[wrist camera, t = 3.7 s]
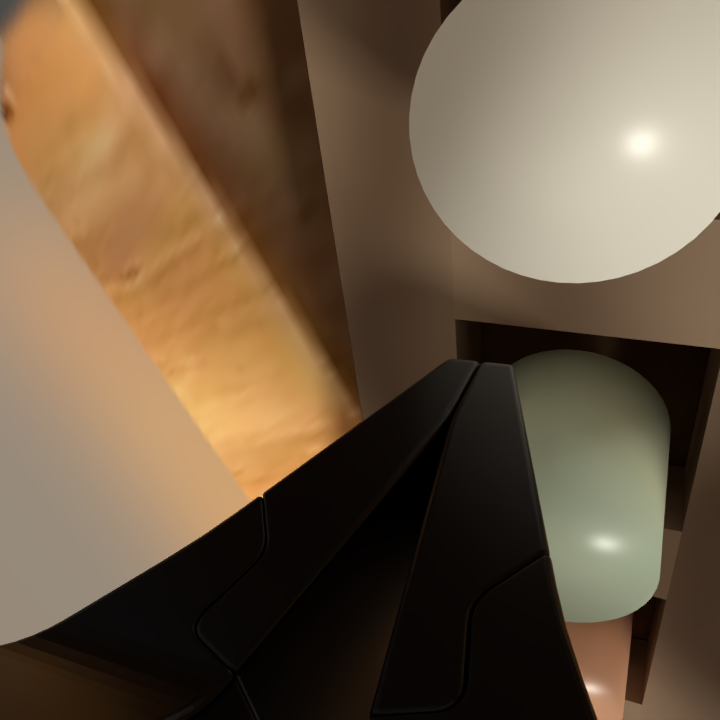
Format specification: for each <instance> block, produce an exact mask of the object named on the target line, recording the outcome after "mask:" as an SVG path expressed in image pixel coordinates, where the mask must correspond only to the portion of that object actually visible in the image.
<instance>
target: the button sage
mask: <svg viewBox="0 0 720 720" xmlns="http://www.w3.org/2000/svg"><path fill="white" fill-rule="evenodd" d="M511 366H512V367H513V368H514V371H515V376H516V381H517V387H518V392H519V397H520V402H521V407H522V412H523V417H524V423H525V428H526V433H527V438H528V443H529V448H530V453H531V459H532V464H533V469H534V474H535V479H536V484H537V489H538V495H539V500H540V505H541V510H542V515H543V520H544V525H545V531H546V536H547V541H548V546H549V551H550V558H551V560H552V565H553V570H554V575H555V580H556V586H557V590H558V594H559V598H560V603H561V607H562V611H563V615H564V619H565V622H576V623H593V622H602V621H608V620H613V619H617V618H620V617H623V616H626V615H628V614H630V613H632V612H634V611H636V610H638V609H639V608H641V607H642V606H643V605H645V604H646V603H647V602H648V601H649V600H650V598H651V597H652V596H653V594H654V593H655V591H656V589H657V586H658V583H659V579H660V568H661V555H662V541H663V528H664V514H665V501H666V487H667V474H668V460H669V447H670V433H671V424H670V417H669V413H668V410H667V407H666V405H665V403H664V401H663V399H662V397H661V396H660V394H659V393H658V392H657V390H656V389H655V388H654V387H653V386H652V385H651V383H650V382H649V381H648V380H646V379H645V378H644V377H643V376H642V375H641V374H639V373H638V372H636V371H635V370H633V369H632V368H630V367H629V366H627V365H625V364H623V363H621V362H619V361H617V360H614V359H612V358H609V357H607V356H604V355H600V354H597V353H593V352H587V351H581V350H569V349H563V350H550V351H543V352H539V353H535V354H532V355H529V356H527V357H524V358H522V359H520V360H518V361H516V362H514V363H513V364H511Z"/></svg>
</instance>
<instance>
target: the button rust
mask: <svg viewBox="0 0 720 720" xmlns="http://www.w3.org/2000/svg"><path fill="white" fill-rule="evenodd" d="M633 615H634V612H632V613H630V614H628V615H626V616H623V617H620V618H617V619H613V620H608V621H602V622H593V623H576V622H565V624H566V628H567V631H568V634H569V637H570V640H571V644H572V647H573V650H574V653H575V656H576V659H577V662H578V665H579V668H580V671H581V675H582V678H583V680H584V683H585V686H586V689H587V691H588V694H589V697H590V700H591V703H592V705H593V708H594V711H595V714H596V716H597V719H598V720H622V718H623V712H624V702H625V693H626V683H627V673H628V664H629V654H630V644H631V635H632V625H633Z"/></svg>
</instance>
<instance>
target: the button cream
mask: <svg viewBox="0 0 720 720" xmlns="http://www.w3.org/2000/svg"><path fill="white" fill-rule="evenodd" d="M409 137H410V144H411V151H412V157H413V161H414V165H415V168H416V172H417V175H418V178H419V180H420V183H421V185H422V188H423V190H424V193H425V194H426V196H427V198H428V200H429V202H430V203H431V205H432V207H433V209H434V210H435V211H436V213H437V214H438V216H439V217H440V218H441V220H442V221H443V223H444V224H445V225H446V226H447V227H448V228H449V229H450V230H451V231H452V233H453V234H454V235H455V236H456V237H457V238H458V239H459V240H461V241H462V242H463V243H464V244H465V245H466V246H468V247H469V248H470V249H471V250H473V251H474V252H476V253H477V254H479V255H480V256H482V257H483V258H485V259H486V260H488V261H490V262H492V263H494V264H496V265H498V266H499V267H501V268H503V269H506V270H509V271H511V272H514V273H517V274H519V275H522V276H526V277H530V278H534V279H538V280H544V281H550V282H557V283H588V282H599V281H604V280H610V279H615V278H619V277H623V276H626V275H629V274H632V273H635V272H639V271H641V270H643V269H645V268H648V267H650V266H652V265H655V264H657V263H659V262H661V261H662V260H664V259H666V258H667V257H669V256H671V255H673V254H674V253H676V252H677V251H679V250H680V249H681V248H683V247H684V246H685V245H687V244H688V243H689V242H691V241H692V240H693V239H695V238H696V237H697V236H698V235H699V234H700V233H701V232H702V231H703V230H704V229H705V228H706V227H707V226H708V225H709V224H710V223H711V222H712V221H713V220H714V218H715V217H716V216H717V215H718V213H719V212H720V0H462V1H461V2H460V3H459V4H458V6H457V7H456V8H455V9H454V10H453V11H452V12H451V13H450V14H449V15H448V16H447V18H446V19H445V21H444V22H443V24H442V25H441V26H440V28H439V29H438V31H437V32H436V34H435V35H434V37H433V39H432V41H431V43H430V44H429V46H428V48H427V50H426V52H425V54H424V56H423V59H422V61H421V64H420V67H419V69H418V72H417V75H416V78H415V83H414V87H413V91H412V95H411V104H410V113H409Z"/></svg>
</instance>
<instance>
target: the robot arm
mask: <svg viewBox="0 0 720 720" xmlns="http://www.w3.org/2000/svg"><path fill="white" fill-rule="evenodd" d="M0 720H598V719H597V716H596V714H595V711H594V708H593V705H592V703H591V700H590V697H589V694H588V691H587V689H586V686H585V683H584V680H583V678H582V675H581V671H580V668H579V665H578V662H577V659H576V656H575V653H574V650H573V647H572V644H571V640H570V637H569V634H568V631H567V628H566V624H565V619H564V615H563V611H562V607H561V603H560V598H559V594H558V590H557V586H556V580H555V575H554V570H553V565H552V560H551V558H550V551H549V546H548V541H547V536H546V531H545V525H544V520H543V515H542V510H541V505H540V500H539V495H538V489H537V484H536V479H535V474H534V469H533V464H532V459H531V453H530V448H529V443H528V438H527V433H526V428H525V423H524V417H523V412H522V407H521V402H520V397H519V392H518V387H517V381H516V376H515V371H514V368H513V367H512V366H511V365H508V364H499V363H489V362H485V363H482V364H481V365H480V364H479V363H478V362H477V361H470V360H461V359H449V360H447V361H445V362H443V363H442V364H441V365H439V366H438V367H437V368H435V369H434V370H432V371H431V372H430V373H428V374H427V375H426V376H424V377H423V378H421V379H420V380H419V381H417V382H416V383H415V384H413V385H412V386H410V387H409V388H408V389H406V390H405V391H403V392H402V393H401V394H399V395H398V396H397V397H395V398H394V399H392V400H391V401H390V402H388V403H387V404H386V405H384V406H383V407H381V408H380V409H379V410H377V411H376V412H375V413H373V414H372V415H370V416H369V417H368V418H366V419H365V420H364V421H362V422H361V423H359V424H358V425H357V426H355V427H354V428H352V429H351V430H350V431H348V432H347V433H346V434H344V435H343V436H341V437H340V438H339V439H337V440H336V441H335V442H333V443H332V444H330V445H329V446H328V447H326V448H325V449H324V450H322V451H321V452H319V453H318V454H317V455H315V456H314V457H312V458H311V459H310V460H308V461H307V462H306V463H304V464H303V465H301V466H300V467H299V468H297V469H296V470H295V471H293V472H292V473H290V474H289V475H288V476H286V477H285V478H284V479H282V480H281V481H279V482H278V483H277V484H275V485H274V486H272V487H271V488H270V489H268V490H267V491H266V492H264V494H263V498H262V497H257V498H256V499H254V500H253V501H251V502H250V503H249V504H247V505H246V506H245V507H243V508H242V509H240V510H239V511H238V512H236V513H235V514H233V515H232V516H230V517H229V518H228V519H226V520H225V521H223V522H222V523H220V524H219V525H217V526H216V527H215V528H213V529H212V530H210V531H209V532H207V533H206V534H204V535H203V536H202V537H200V538H198V539H197V540H195V541H194V542H192V543H190V544H189V545H187V546H186V547H184V548H183V549H181V550H179V551H178V552H176V553H175V554H173V555H171V556H170V557H168V558H166V559H165V560H163V561H162V562H160V563H158V564H157V565H155V566H153V567H152V568H150V569H148V570H147V571H145V572H143V573H142V574H140V575H139V576H137V577H135V578H133V579H132V580H130V581H128V582H127V583H125V584H123V585H122V586H120V587H118V588H117V589H115V590H113V591H112V592H110V593H108V594H107V595H105V596H103V597H102V598H100V599H98V600H97V601H95V602H93V603H92V604H90V605H88V606H87V607H85V608H83V609H82V610H80V611H78V612H77V613H75V614H73V615H72V616H70V617H68V618H66V619H65V620H63V621H61V622H59V623H57V624H55V625H54V626H52V627H50V628H48V629H46V630H43V631H41V632H39V633H37V634H35V635H32V636H30V637H27V638H24V639H21V640H18V641H16V642H12V643H8V644H4V645H0Z"/></svg>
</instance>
